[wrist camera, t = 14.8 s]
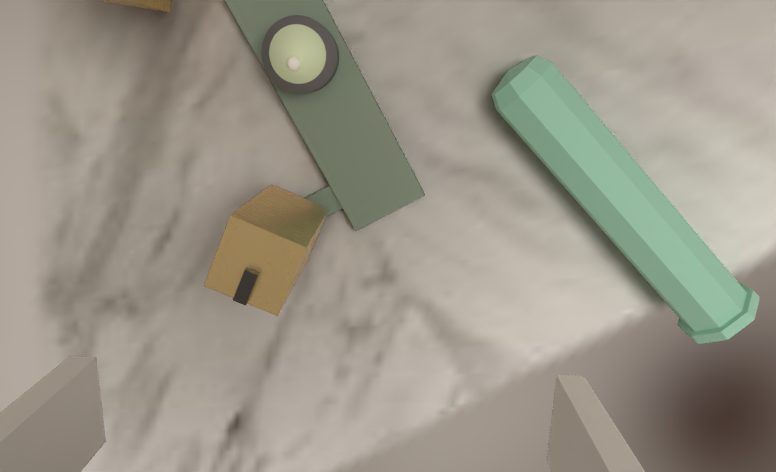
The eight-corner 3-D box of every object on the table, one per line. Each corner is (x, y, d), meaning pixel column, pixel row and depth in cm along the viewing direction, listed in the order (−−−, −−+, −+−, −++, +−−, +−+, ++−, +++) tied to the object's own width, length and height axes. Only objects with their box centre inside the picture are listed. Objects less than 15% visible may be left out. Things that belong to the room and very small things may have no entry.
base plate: (248, -142, 38) (228, -171, 33) (424, 192, 43) (426, 203, 39) (110, -53, 39) (75, -70, 35) (297, 258, 45) (286, 276, 41)
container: (499, 84, 35) (731, 350, 39) (557, 26, 37) (776, 290, 40) (464, 108, 41) (669, 337, 45) (515, 56, 42) (711, 285, 46)
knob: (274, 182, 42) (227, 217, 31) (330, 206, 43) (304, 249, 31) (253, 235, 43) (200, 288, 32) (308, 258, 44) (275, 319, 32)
